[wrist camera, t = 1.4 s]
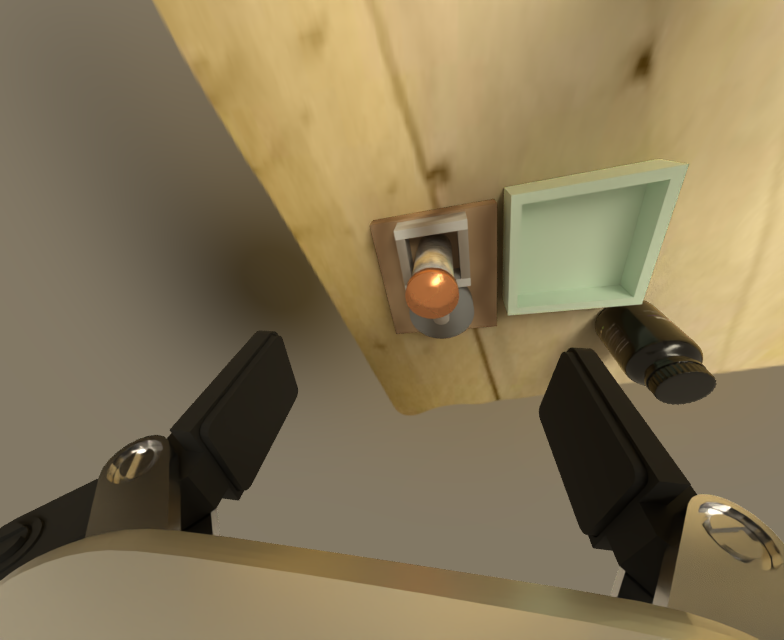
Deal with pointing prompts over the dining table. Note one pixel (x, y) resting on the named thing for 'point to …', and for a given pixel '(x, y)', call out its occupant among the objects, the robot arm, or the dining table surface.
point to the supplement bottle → (655, 353)
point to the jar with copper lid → (433, 279)
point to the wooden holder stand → (470, 264)
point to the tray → (586, 236)
